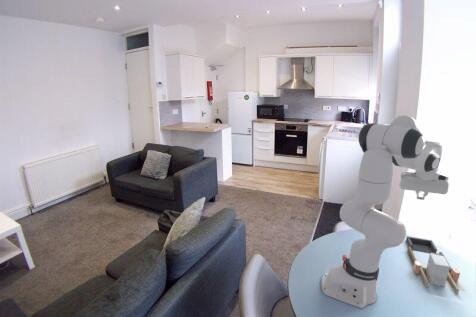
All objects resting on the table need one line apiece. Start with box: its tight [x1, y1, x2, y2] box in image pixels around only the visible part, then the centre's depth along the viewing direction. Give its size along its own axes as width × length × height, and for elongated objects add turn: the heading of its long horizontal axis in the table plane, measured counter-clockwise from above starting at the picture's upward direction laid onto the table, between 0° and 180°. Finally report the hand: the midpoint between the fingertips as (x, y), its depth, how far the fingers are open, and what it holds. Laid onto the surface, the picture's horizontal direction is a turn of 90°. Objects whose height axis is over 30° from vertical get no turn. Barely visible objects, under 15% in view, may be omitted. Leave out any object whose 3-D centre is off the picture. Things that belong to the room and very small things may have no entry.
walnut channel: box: [407, 245, 453, 274], centre depth 137 cm, size 15×14×3 cm
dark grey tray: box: [405, 235, 438, 254], centre depth 148 cm, size 12×9×3 cm
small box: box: [425, 253, 451, 287], centre depth 124 cm, size 8×6×10 cm
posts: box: [412, 260, 461, 283], centre depth 127 cm, size 17×3×5 cm, turn 71°
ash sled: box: [419, 252, 460, 295], centre depth 124 cm, size 12×14×9 cm
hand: (420, 199), depth 139 cm, fingers closed
